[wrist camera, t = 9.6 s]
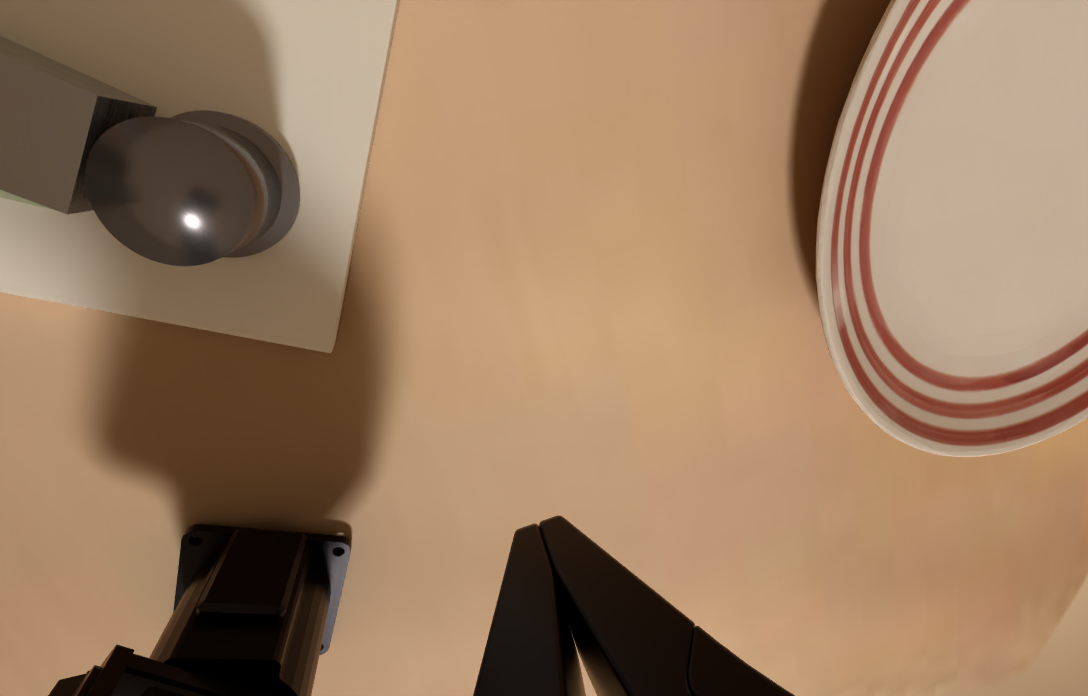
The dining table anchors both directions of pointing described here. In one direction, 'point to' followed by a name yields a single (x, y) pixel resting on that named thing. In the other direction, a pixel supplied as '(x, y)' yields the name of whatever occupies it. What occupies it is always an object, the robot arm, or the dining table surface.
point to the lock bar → (129, 164)
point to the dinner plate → (962, 225)
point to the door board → (239, 105)
